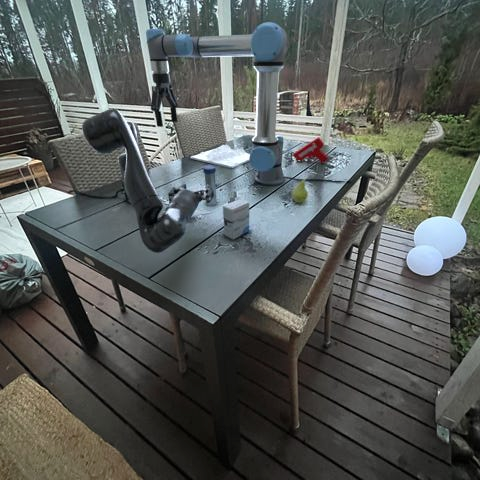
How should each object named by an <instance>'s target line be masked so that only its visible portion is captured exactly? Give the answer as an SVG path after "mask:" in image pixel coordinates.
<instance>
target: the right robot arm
mask: <svg viewBox="0 0 480 480" xmlns="http://www.w3.org/2000/svg"><path fill="white" fill-rule="evenodd" d="M145 36H146V46H147V50H148V55H149V63H150V69H151V72H152V74H151V76H152V83H153V84H155V85H152V86H151V102H150V110H151V111H152V112H154V117H155V121H156V127H158V128H163V127H164V123H163V116H162V111H161V106H162V102H163V99H164V98H166V100H167V102H168V103H169V106H170V109H169V110H170V116H171V117H170V118H171V122H172V123H173V122H174V123H178V122H179V121H178V114H177V108H178V107H179V102H178V99H177V97H176V94H175V91H174V87H173V84H170V83H171V75H170V73H169V72H170V68H169V60H168V57H175V58H176V57H177V58H178V57H179V58H180V57H182V58H211V57H212V58H218V57H219V58H220V57H221V58H222V57H224V58H225V57H226V58H227V57H229V58H230V57H253V68H254V69H255V71H256V107H255V108H256V110H255V135H254V136H253V137H252V139H251V151H250V153H249V154H250V156H249V160H250V161H249V163H250V166H251V167H252V168H253V169H254V170H256V173H255V177H254V181H255V183H258V184H259V185H262V186H263V185H264V186H279V185H281V184H283V183H284V181H285V179H287V180H292V181H298V182H301V181H302V180H305V179H306V178H295V177H291V176H290V177H289V176H285V175H284V172H283V171H284V170H283V167H282V165H283V154H284V153H283V152H284V137H283V135H280V134H279V135H278V134H276V129H277V128H276V127H277V113H278V112H277V111H278V95H279V80H280V79H279V77H280V71H281V70H282V69H283V68H284V61H285V60H284V59H285V56H286V54H287V52H288V49H289V47H290V46H289V45H290V39H289V35H288V33H287V31H286V30H285V29H284V28H283V27H281V26H280V25H278V24H277V23H276V22H271V21H268V22H267V21H266V22H262V23H261V24H259V25H258V26H257V27H256V28H255V29H254V30H253V32H252V34H231V35H230V34H228V35H208V36H190V35H189V34H188V33H178V34H165V30H164V29H162V28H147V29H146V31H145ZM323 179H324V178H307V179H306V180H305V182H309V181H314V182H315V181H316V182H317V181H318V182H319V181H320V182H331V183H344V182H345V181H341V180H335V181H332V180H333V179H328V180H323ZM346 182H347V183H349V184H351V181H350V180H349V181H346Z"/></svg>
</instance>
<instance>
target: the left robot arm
mask: <svg viewBox="0 0 480 480" xmlns="http://www.w3.org/2000/svg"><path fill="white" fill-rule="evenodd" d="M81 131H82V135H83V137H84V139H85V142H87V144H88V145H89V146H90V147H91V148H92V149H93V150H94V151H95V152H97V153H99V154H101V155H106V154H109V153H112V152H114V151H117V150H119V149H123V148H125V152H123V153H121V154H120V155H118V156H117V163H118V166H119V170H120V175H121V177H122V180H121V186H122V187H121V188H120V189H118V190H116V191H115V195H112V196H104V195H95V194H90V193H87V192H83V191H79V190H75V189H70V190H68V192H67V195H68V194H71V193H76V194H80V195H85V196H88V197H92V198H99V199H115V198H117V197H118V196H119V195H118V194H119V193H120V192H121V194H123V195H124V199H125V201H126V203H129V204H131V206H132V208H133V210H134V212H135V214H136V221H137V225H138V230H139V234H140V239H141V240H142V244H143V245H144V247H146V248H147V250H149V251H150V252H152V253H154V254H160V253H163V252H165V251H166V250H168V249H169V248H170V247H172V246H173V245H175V244H176V243H177V242H179V241H180V240H181V239H182V238H183V236H184V235H185V233H186V227H187V223H188V222H189V220H190V219H191V218H192V217H193V215H194V214H195V212H196V210H197V209H198V206H199V204H200V203H201V202H202V201H206V202H205V203H206V204H207V203H210V201H211V200H212V199H213V197H214V190H213V189H211V186H210V185H207V186H205V188H198V189H193V190H190V189H187V183H182V184H181V185H180V186H178V187H177V188H176V187H175V186H174V187H172V188H170V190H169V191H168V193H167V197H168V201H169V202H168V204H167V206H166V208H165V209H163V208H164V203H163V201H162V199H161V197H160V195H159V193H158V191H157V190H156V187H155V186H154V183H153V182H152V180H151V177H150V175H149V173H148V170H147V167H146V166H145V162H144V160H143V157H142V155H141V151H140V148H139V139H138V135H137V134H138V133H137V129H136V126H135V124H134V123H133V122H132V121H127V119H125V117H124V116H123V114H122V113H121V112H120V111H119V110H118V109H116V108H109V109H106V110H104V111H102V112H99V113H96V114H95V115H92V116H91V117H88V118H86V119H85V120H83V122H82V124H81ZM162 210H163V211H162ZM161 212H162V213H161ZM160 214H161V216H160V218H159V215H160Z"/></svg>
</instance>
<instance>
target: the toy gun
mask: <svg viewBox="0 0 480 480" xmlns="http://www.w3.org/2000/svg"><path fill="white" fill-rule="evenodd" d="M324 145H325V143H324V142H323V140H322V138H321V137H320V136H318V137H316V138H314V139H313V140H311V141H310V142H308V143H306V145H304V146H303V147H301V148H299V149H298V150H296V151H295V152H294V153H293V158H294V159H295V160H296V163H300V162H301V161H297V160H302V161H303V160H305V159H306V158H309V160H313V159H314V158H316V159H317V160H319V161H320V163H321V162H324V163H325V161H326V163H327V162H328V159H329V156H328V155H327V154H326V153H325V152H323V151H322V150H321V149H323V147H324ZM324 163H321V165H323V164H324Z"/></svg>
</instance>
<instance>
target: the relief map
mask: <svg viewBox="0 0 480 480" xmlns="http://www.w3.org/2000/svg"><path fill="white" fill-rule="evenodd" d="M249 156H250V153H247V152H246V151H245V150H244V148H238V149H233V148H231V147H230V146H229V145H228V144H222V145H219V147H215V148H213V149H210V150H206V151H201V152H200V153H198V154H194V155H191V156H190V159H191V160H196V161H199V162H203V163H207V164H212V165H214V166H221V167H224V168H229V169H235V168H237V167H239V166H241V165H244V164H246V163H250V160H249Z"/></svg>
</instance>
